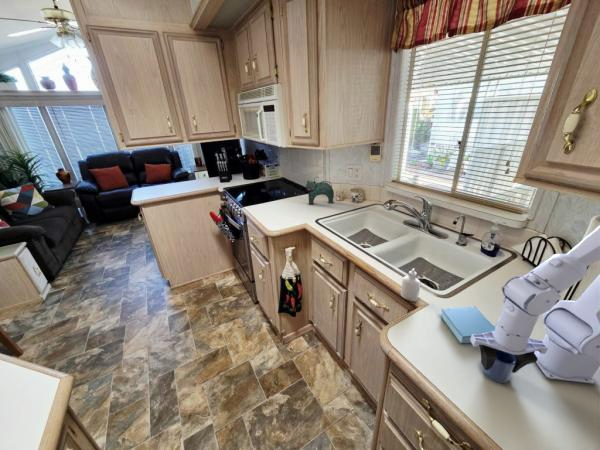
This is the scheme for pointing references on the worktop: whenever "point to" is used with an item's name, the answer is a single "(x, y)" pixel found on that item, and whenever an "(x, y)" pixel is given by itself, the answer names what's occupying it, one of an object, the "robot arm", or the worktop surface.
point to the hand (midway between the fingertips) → (497, 367)
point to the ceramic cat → (319, 190)
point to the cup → (501, 367)
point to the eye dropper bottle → (410, 286)
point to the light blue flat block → (466, 322)
